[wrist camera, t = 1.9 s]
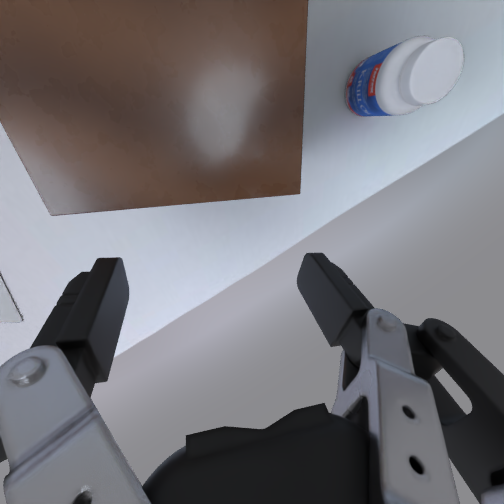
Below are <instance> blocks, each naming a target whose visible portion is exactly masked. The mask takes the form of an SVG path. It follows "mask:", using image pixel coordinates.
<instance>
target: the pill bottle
mask: <svg viewBox="0 0 504 504" xmlns="http://www.w3.org/2000/svg"><path fill="white" fill-rule="evenodd" d="M463 65H464V51H463V47H462V45H461V44H460V42H459V41H458V40H456V39H455V38H452V37H443V38H439V39H436V40H435V39H433V38H431V37H428V36H417V37H413V38H410V39H408V40H405V41H403V42H401V43H399V44H396V45H394V46H392V47H390V48H388V49H386V50H383V51H381V52H379V53H377V54H375V55H372V56H370V57H368V58H366V59H365V60H363V61H362V62H360V63H359V64H358V65H357V66H356V67H355V69H354V70H353V71H352V73H351V75H350V76H349V79H348V81H347V85H346V91H345V98H346V103H347V105H348V107H349V109H350V110H351V111H352V112H353V113H354V114H356V115H359V116H394V115H405V114H409V113H411V112H414V111H415V110H417V109H419V108H420V107H422V106H423V105H427V104H432V103H435V102H437V101H439V100H441V99H442V98H443V97H445V96H446V95H447V94H448V93H449V92H450V91H451V90H452V88H453V87H454V86H455V84H456V83H457V81H458V79H459V77H460V75H461V72H462V69H463Z"/></svg>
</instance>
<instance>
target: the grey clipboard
mask: <svg viewBox="0 0 504 504" xmlns="http://www.w3.org/2000/svg"><path fill="white" fill-rule="evenodd" d="M13 310H14V311H13ZM21 321H22V318H21V316H20V314H19V312H18V310H17V308H16V306H15V304H14V302H13V300H12V298H11V296H10V294H9V292H8V290H7V288H6V286H5V284H4V282H3V280H2V278H1V276H0V323H20V322H21Z"/></svg>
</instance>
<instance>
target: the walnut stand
mask: <svg viewBox="0 0 504 504" xmlns="http://www.w3.org/2000/svg"><path fill="white" fill-rule="evenodd" d="M307 17H308V0H0V122H1V124H2V126H3V128H4V129H5V131H6V133H7V135H8V137H9V139H10V141H11V142H12V144H13V146H14V148H15V150H16V152H17V153H18V155H19V157H20V159H21V161H22V163H23V165H24V166H25V168H26V170H27V172H28V174H29V176H30V178H31V179H32V181H33V183H34V185H35V187H36V189H37V191H38V192H39V194H40V196H41V198H42V200H43V202H44V204H45V205H46V207H47V209H48V211H49V213H50V215H51V216H57V215H68V214H79V213H91V212H102V211H113V210H125V209H136V208H148V207H159V206H170V205H182V204H193V203H204V202H216V201H227V200H238V199H250V198H261V197H272V196H284V195H295V194H300V187H301V163H302V138H303V114H304V90H305V66H306V41H307Z"/></svg>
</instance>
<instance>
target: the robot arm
mask: <svg viewBox="0 0 504 504" xmlns="http://www.w3.org/2000/svg"><path fill="white" fill-rule="evenodd" d="M297 286H298V289H299V291H300V293H301V294H302V296H303V298H304V300H305V301H306V303H307V305H308V307H309V309H310V310H311V312H312V314H313V316H314V317H315V319H316V321H317V323H318V325H319V327H320V328H321V330H322V332H323V334H324V335H325V337H326V339H327V341H328V343H329V344H330V346H331V347H333V346H340V345H341V346H342V347H343V351H342V353H341V360H340V371H339V380H338V390H337V396H336V400H335V403H334V405H333V408H332V412H331V413H329V412H328V410H327V408H326V405H325V403H322V404H318V405H314V406H309V407H305V408H301V409H297V410H294V411H292V412H291V413H289V414H288V415H286V416H284V417H283V418H281V419H280V420H278V421H277V422H275V423H274V424H272V425H270V426H269V427H267V428H265V429H251V428H238V427H226V426H224V427H220V428H216V429H211V430H207V431H203V432H199V433H194V434H190V435H186V446H184V447H183V448H181V449H179V450H178V451H176V452H175V453H173V454H172V455H171V456H170V457H168V458H167V459H166V460H165V461H164V462H163V463H162V464H161V465H160V466H159V467H158V468H157V469H156V470H155V471H154V472H153V473H152V474H151V476H150V477H149V478H148V479H147V481H146V482H145V484H144V485H143V486H142V485H141V483H140V482H139V480H138V478H137V476H136V475H135V473H134V471H133V470H132V468H131V466H130V464H129V463H128V461H127V459H126V458H125V456H124V454H123V453H122V451H121V449H120V448H119V446H118V444H117V443H116V441H115V439H114V437H113V436H112V434H111V432H110V430H109V429H108V427H107V425H106V424H105V422H104V420H103V419H102V417H101V415H100V413H99V412H98V410H97V408H96V407H95V405H94V403H93V401H92V400H91V394H92V391H93V388H94V384H95V383H99V382H106V381H107V380H108V376H109V372H110V368H111V365H112V361H113V357H114V354H115V350H116V346H117V342H118V338H119V335H120V331H121V327H122V323H123V320H124V316H125V312H126V308H127V304H128V300H129V285H128V281H127V277H126V273H125V268H124V264H123V260H122V258H120V257H119V258H98V259H97V260H96V262H95V264H94V266H93V267H92V269H91V271H90V272H81V273H80V274H78V275H77V276H76V277H75V278H74V279H72V280H71V281H70V282H69V283H68V285H67V287H66V288H65V290H64V292H63V293H62V296H61V297H60V298H59V300H58V302H57V306H55V307H54V308H53V310H52V312H51V314H50V315H49V317H48V319H47V320H46V322H45V324H44V325H43V327H42V329H41V330H40V332H39V334H38V336H37V337H36V339H35V341H34V342H33V344H32V346H31V347H30V349H27V350H25V351H23V352H21V353H19V354H17V355H15V356H13V357H12V358H10V359H9V360H8V361H6V362H5V363H4V364H3V365H2V366H1V367H0V462H2V461H4V460H6V459H8V462H9V466H10V472H9V474H8V475H7V476H6V477H5V478H4V485H3V486H4V494H5V498H6V503H7V504H460V501H459V498H458V494H457V489H456V485H455V481H454V477H453V473H452V469H451V465H450V461H449V458H450V459H451V461H452V463H453V464H454V466H455V467H456V469H457V470H458V471H459V473H460V475H461V476H462V477H463V479H464V481H465V482H466V484H467V485H468V487H469V488H470V490H471V491H472V493H473V494H474V495H475V497H476V498H477V500H478V502H479V503H480V504H504V375H503V374H502V373H501V372H500V371H499V370H498V369H497V368H496V367H495V366H494V365H493V364H492V363H491V362H490V361H489V360H487V359H486V358H485V357H484V356H483V355H482V354H481V353H480V352H479V351H478V350H477V349H476V348H475V347H474V346H473V345H472V344H471V343H470V342H468V341H467V340H466V339H465V338H464V337H463V336H462V335H461V334H460V333H459V332H458V331H457V330H456V329H454V328H453V327H452V326H450V325H449V324H447V323H445V322H443V321H440V320H438V319H433V318H428V319H426V320H425V321H424V322H423V323H422V324H421V325H420V326H414V325H409V324H404V323H402V322H401V321H400V319H398V318H397V317H396V316H395V315H393V314H392V313H390V312H388V311H386V310H383V309H378V308H374V307H373V306H372V304H371V303H370V302H369V301H368V300H367V299H366V297H365V296H364V295H363V294H362V293H361V292H360V290H359V289H358V288H357V287H356V286H355V285H353V282H352V281H351V280H350V279H349V278H348V276H347V275H346V274H345V273H344V272H343V270H342V269H341V268H339V267H338V266H336V265H335V264H333V263H331V262H330V261H329V260H328V258H327V257H326V256H325V255H324V254H323V253H307V254H306V255H305V256H304V259H303V262H302V265H301V268H300V270H299V273H298V277H297ZM442 368H444V369H445V370H446V372H447V373H448V374H449V375H450V376H451V377H452V379H453V380H454V381H455V382H456V383H457V384H458V385H459V387H460V388H461V389H462V390H463V391H464V392H465V394H466V395H467V396H468V397H469V399H470V400H471V403H472V411H471V413H469V414H468V415H466V414H465V413H464V412H463V410H462V409H461V408H460V407H459V405H458V404H457V403H456V402H455V401H454V399H453V398H452V397H451V396H450V394H449V393H448V392H447V391H446V389H445V388H444V387H443V386H442V384H441V383H440V382H439V381H438V379H437V378H436V377H435V376H434V375H435V374H436V373H437V372H438V371H440V370H441V369H442Z"/></svg>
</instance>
